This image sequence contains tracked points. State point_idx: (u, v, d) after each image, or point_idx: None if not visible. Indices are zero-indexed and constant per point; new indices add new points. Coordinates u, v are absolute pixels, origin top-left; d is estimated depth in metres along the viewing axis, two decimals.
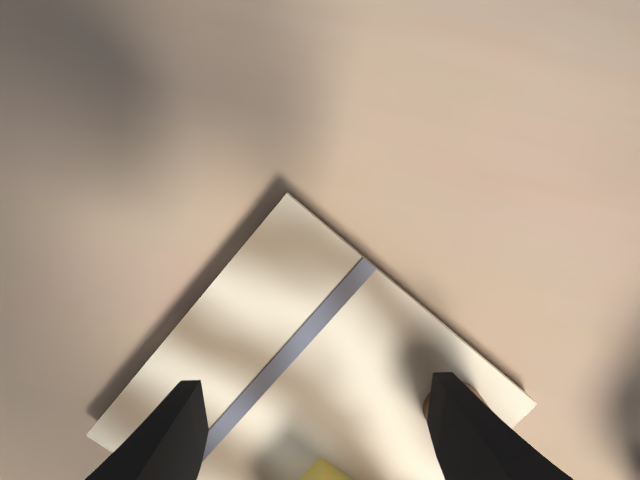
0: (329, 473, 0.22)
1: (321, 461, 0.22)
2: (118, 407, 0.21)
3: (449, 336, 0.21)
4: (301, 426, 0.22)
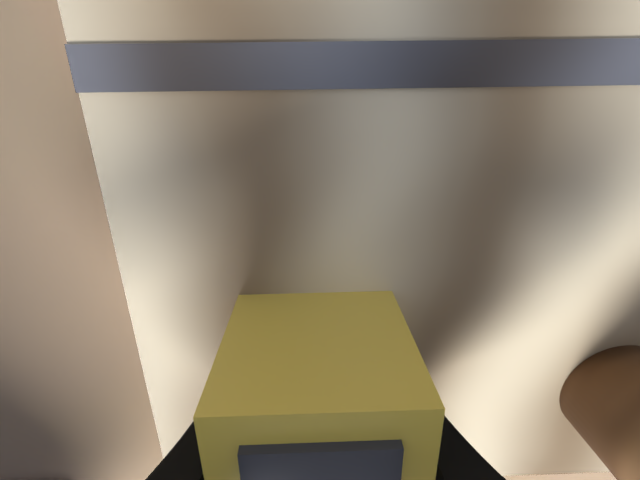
0: None
1: (394, 298, 0.10)
2: None
3: None
4: (430, 215, 0.10)
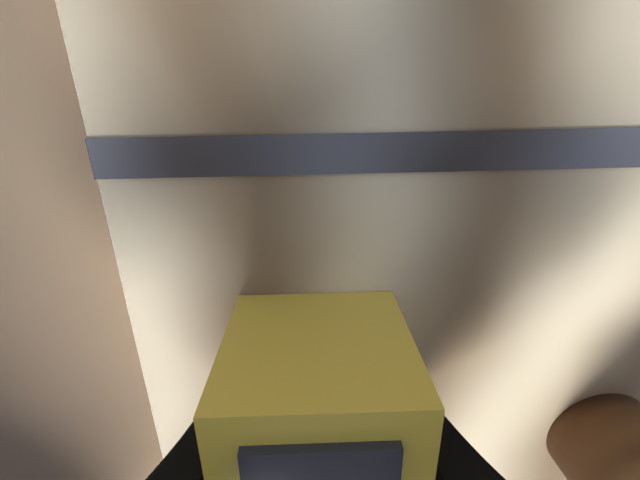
0: None
1: (394, 299, 0.10)
2: None
3: None
4: (422, 281, 0.10)
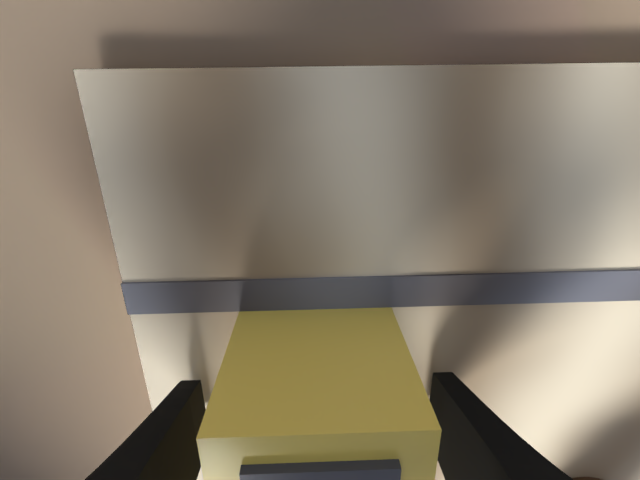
0: None
1: (393, 314, 0.10)
2: (197, 88, 0.08)
3: None
4: None
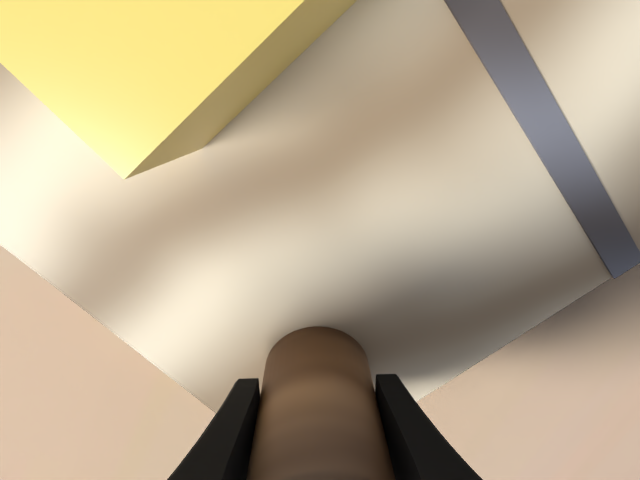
0: None
1: None
2: None
3: (449, 373, 0.13)
4: (330, 78, 0.09)
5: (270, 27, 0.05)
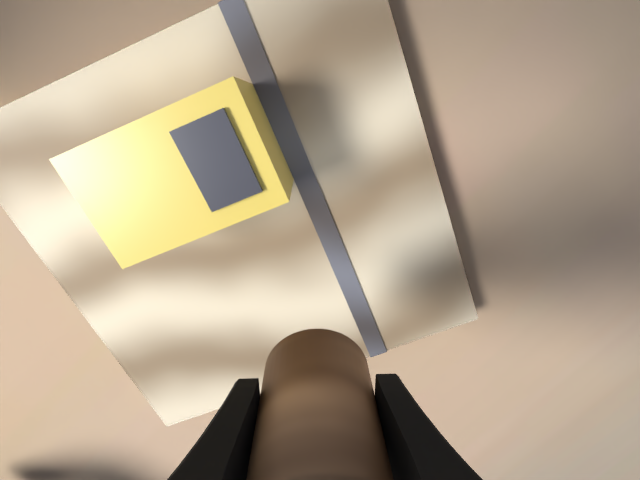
0: None
1: (292, 180, 0.17)
2: (380, 14, 0.15)
3: None
4: None
5: (195, 237, 0.13)
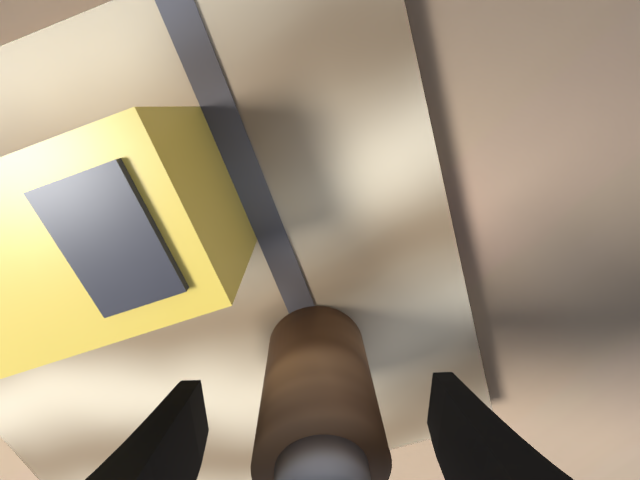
0: None
1: (254, 243, 0.12)
2: (391, 17, 0.10)
3: None
4: None
5: (83, 349, 0.09)
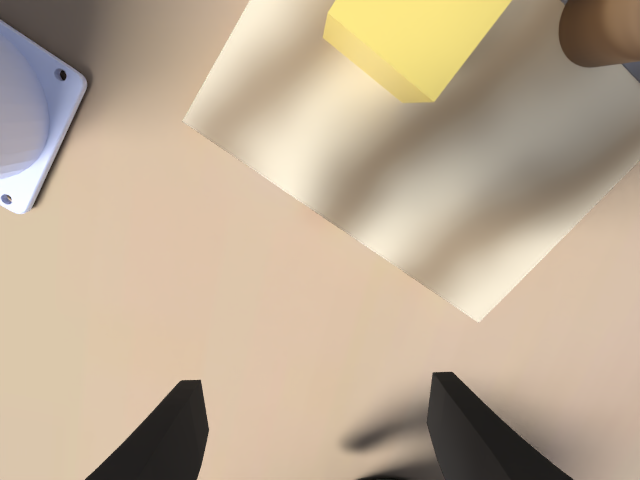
0: None
1: None
2: None
3: (574, 219, 0.19)
4: None
5: (498, 13, 0.11)
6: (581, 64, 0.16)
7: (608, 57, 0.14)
